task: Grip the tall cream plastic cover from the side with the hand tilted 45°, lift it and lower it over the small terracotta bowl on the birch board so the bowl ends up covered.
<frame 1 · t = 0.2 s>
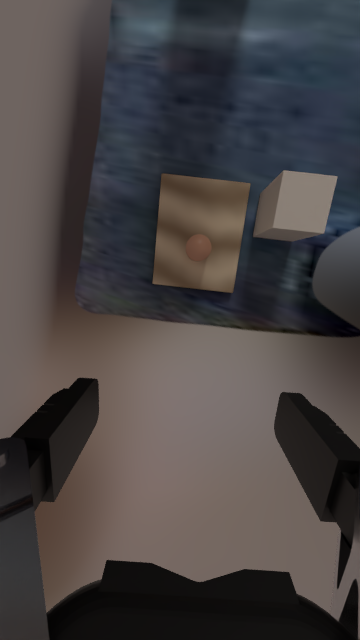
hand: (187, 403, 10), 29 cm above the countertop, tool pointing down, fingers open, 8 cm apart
board: (198, 237, 36), on the countertop
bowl: (197, 249, 36), point 1 cm above the countertop, touching board
cover: (276, 218, 35), on the countertop
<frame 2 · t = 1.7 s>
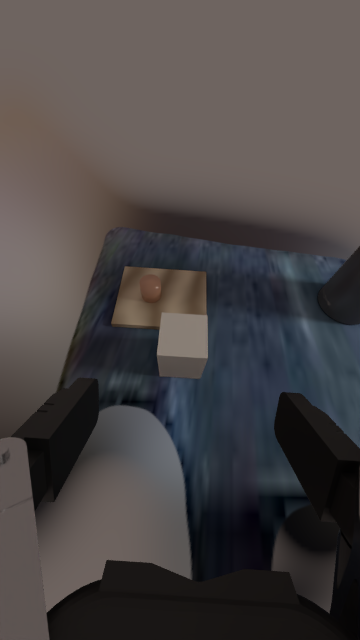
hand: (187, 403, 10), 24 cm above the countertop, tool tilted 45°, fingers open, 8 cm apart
board: (162, 298, 43), on the countertop
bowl: (151, 294, 42), point 1 cm above the countertop, touching board
cover: (180, 358, 37), on the countertop
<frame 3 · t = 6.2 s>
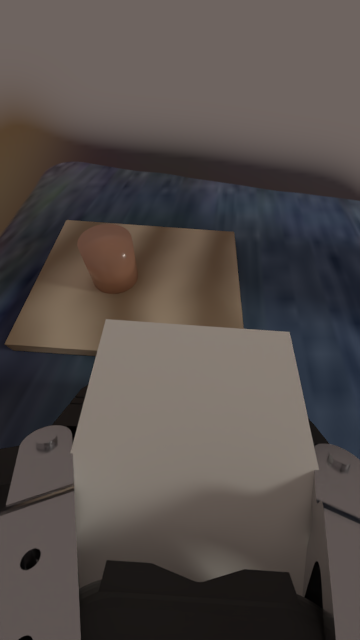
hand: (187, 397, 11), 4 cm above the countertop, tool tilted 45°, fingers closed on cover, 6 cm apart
board: (141, 285, 19), on the countertop
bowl: (115, 276, 18), point 1 cm above the countertop, touching board
cover: (181, 443, 13), on the countertop, touching gripper
when the fingers open (7 cm above the countertop, at t = 11.6 s): cover drops 1 cm, resting on board.
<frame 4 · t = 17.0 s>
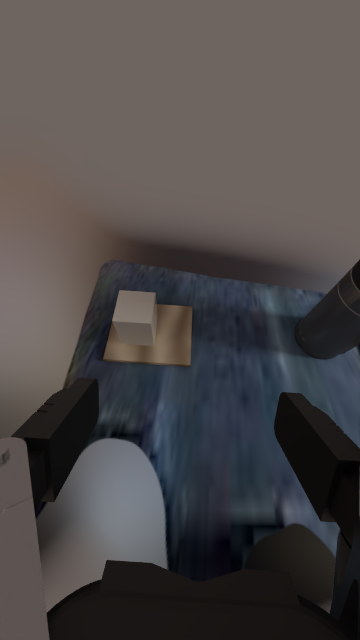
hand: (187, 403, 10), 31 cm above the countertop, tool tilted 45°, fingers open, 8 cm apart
board: (151, 333, 46), on the countertop
cover: (140, 330, 45), point 1 cm above the countertop, touching board
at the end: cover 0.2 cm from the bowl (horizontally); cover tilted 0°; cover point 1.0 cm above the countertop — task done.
